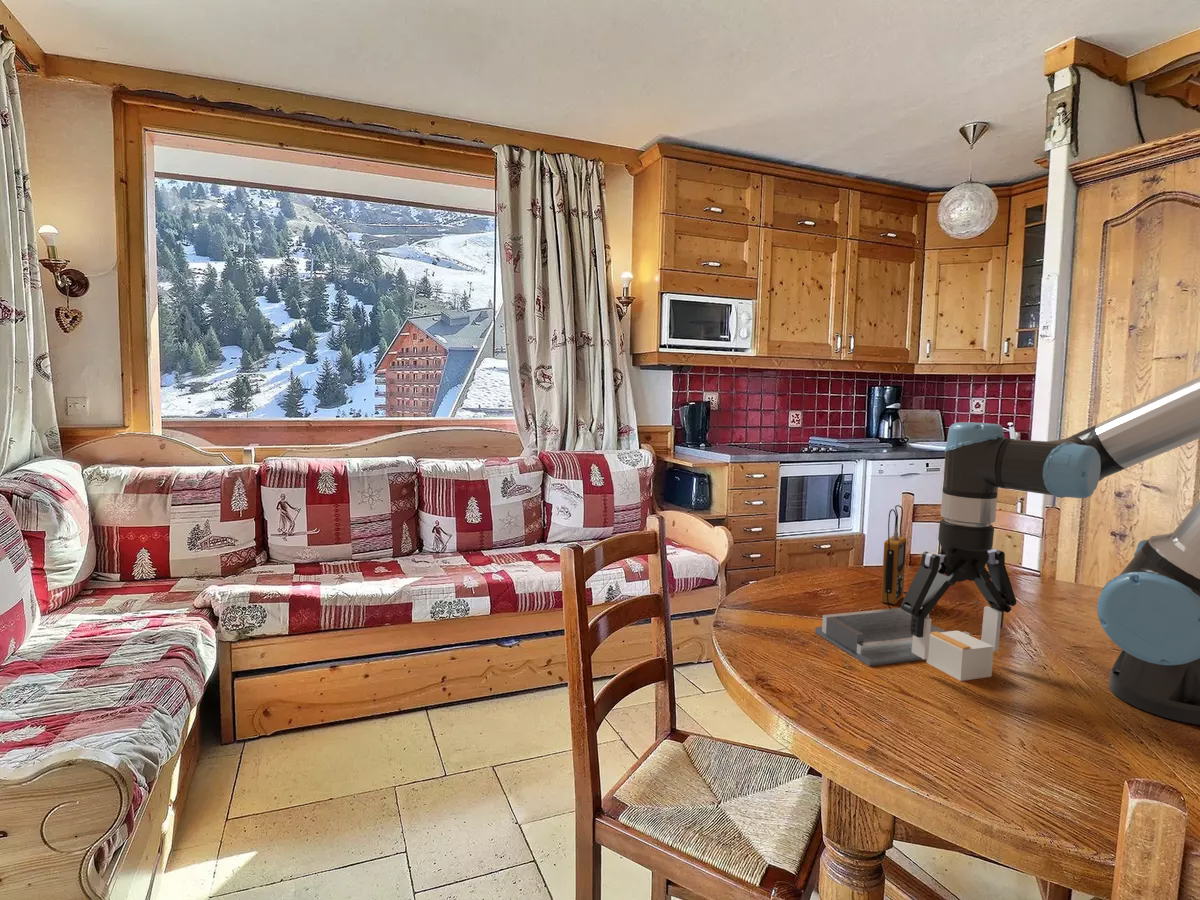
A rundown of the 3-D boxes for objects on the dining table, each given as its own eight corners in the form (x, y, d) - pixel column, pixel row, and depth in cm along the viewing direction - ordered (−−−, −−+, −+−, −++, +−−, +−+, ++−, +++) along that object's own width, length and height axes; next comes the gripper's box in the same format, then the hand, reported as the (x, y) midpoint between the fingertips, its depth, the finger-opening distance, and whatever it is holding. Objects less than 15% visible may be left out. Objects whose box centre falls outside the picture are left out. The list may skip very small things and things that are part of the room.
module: (991, 677, 104) (993, 644, 104) (960, 681, 102) (962, 648, 102) (956, 659, 111) (958, 628, 110) (926, 663, 109) (928, 631, 109)
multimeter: (929, 618, 130) (935, 517, 128) (875, 607, 136) (880, 510, 134) (944, 599, 141) (950, 506, 139) (894, 590, 147) (899, 501, 145)
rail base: (979, 652, 113) (981, 629, 113) (869, 666, 107) (870, 642, 107) (915, 622, 128) (916, 601, 127) (815, 632, 122) (815, 611, 121)
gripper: (1009, 513, 111) (997, 636, 114) (882, 519, 104) (873, 649, 107) (1051, 523, 104) (1037, 654, 106) (917, 530, 97) (906, 669, 100)
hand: (955, 652), depth 107 cm, fingers open, 13 cm apart
